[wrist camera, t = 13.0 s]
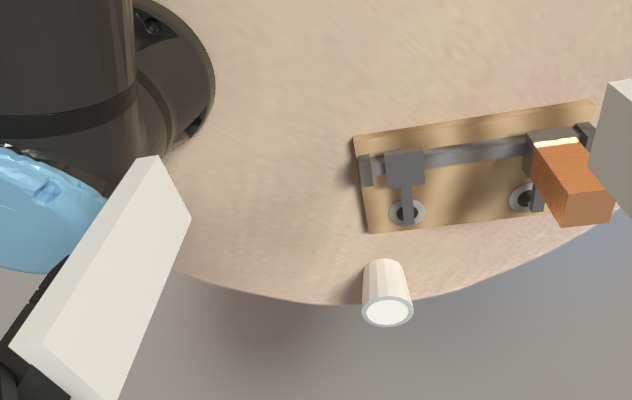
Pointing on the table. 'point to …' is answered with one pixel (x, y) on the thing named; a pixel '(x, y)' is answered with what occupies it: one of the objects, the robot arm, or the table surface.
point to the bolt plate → (463, 167)
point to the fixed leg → (405, 176)
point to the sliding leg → (564, 179)
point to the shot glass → (385, 294)
